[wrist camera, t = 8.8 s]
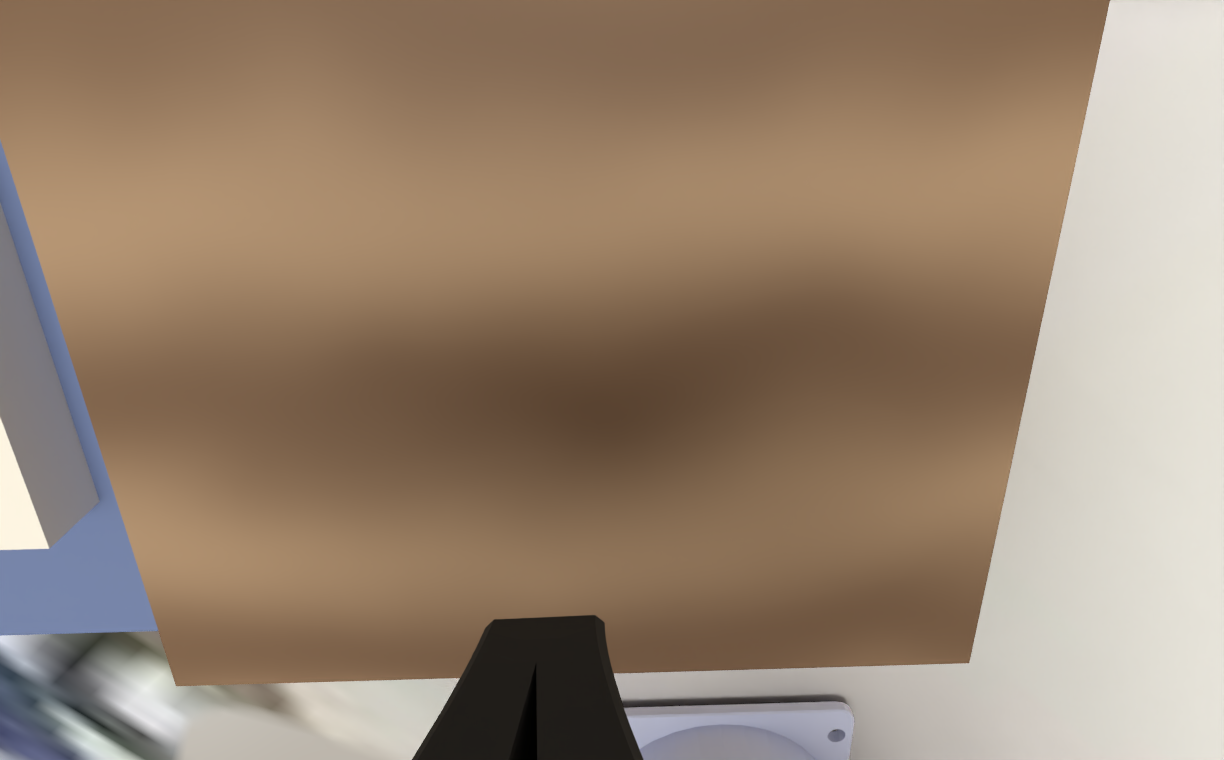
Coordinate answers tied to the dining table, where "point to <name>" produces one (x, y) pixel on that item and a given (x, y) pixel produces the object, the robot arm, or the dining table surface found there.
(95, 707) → the dining table surface
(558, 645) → the robot arm
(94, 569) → the mat
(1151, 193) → the dining table surface
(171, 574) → the brown wooden slab
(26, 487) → the block
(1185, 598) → the dining table surface
